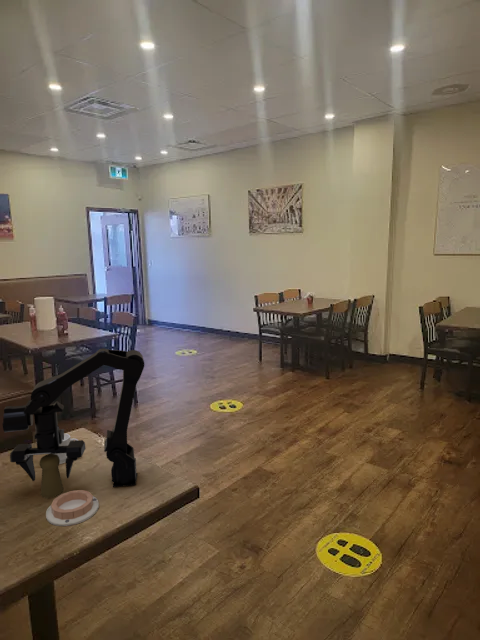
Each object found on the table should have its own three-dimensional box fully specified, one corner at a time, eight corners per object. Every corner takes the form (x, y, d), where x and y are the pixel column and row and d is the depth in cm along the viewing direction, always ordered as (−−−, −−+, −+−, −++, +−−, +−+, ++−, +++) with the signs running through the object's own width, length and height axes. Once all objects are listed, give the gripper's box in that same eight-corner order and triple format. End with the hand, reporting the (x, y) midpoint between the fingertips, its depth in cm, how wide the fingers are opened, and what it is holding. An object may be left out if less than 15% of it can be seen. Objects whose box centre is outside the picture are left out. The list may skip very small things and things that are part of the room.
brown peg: (55, 499, 120) (52, 462, 118) (35, 496, 121) (32, 460, 119) (68, 487, 126) (65, 452, 124) (49, 485, 127) (46, 450, 125)
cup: (51, 457, 144) (49, 434, 143) (82, 453, 146) (81, 430, 145) (47, 467, 137) (45, 443, 136) (81, 463, 140) (79, 439, 138)
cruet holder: (102, 494, 122) (102, 485, 121) (93, 523, 109) (92, 513, 109) (54, 498, 120) (53, 489, 120) (39, 528, 107) (38, 518, 107)
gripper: (87, 414, 129) (91, 462, 132) (21, 417, 127) (26, 467, 129) (79, 429, 118) (83, 482, 121) (6, 433, 116) (12, 487, 119)
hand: (51, 478), depth 123 cm, fingers open, 9 cm apart
